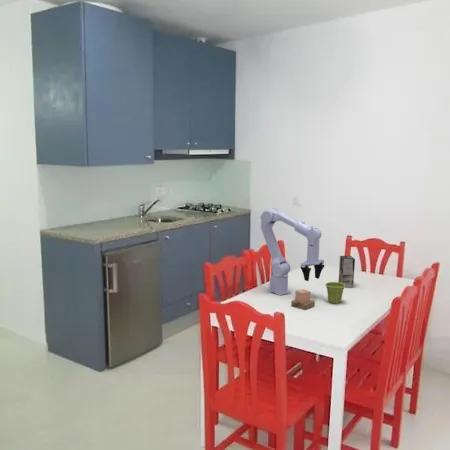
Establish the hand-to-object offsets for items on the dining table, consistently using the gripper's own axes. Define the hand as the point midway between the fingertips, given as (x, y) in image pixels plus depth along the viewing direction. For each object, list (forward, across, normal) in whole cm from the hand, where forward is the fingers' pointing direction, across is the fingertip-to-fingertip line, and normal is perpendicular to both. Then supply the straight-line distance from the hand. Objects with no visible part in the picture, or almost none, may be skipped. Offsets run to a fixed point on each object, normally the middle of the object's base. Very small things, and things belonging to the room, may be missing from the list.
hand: (311, 279), depth 230 cm
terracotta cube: (+7, -12, -6) cm, 16 cm away
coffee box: (+10, +33, +5) cm, 35 cm away
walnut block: (+10, -12, -6) cm, 17 cm away
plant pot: (+10, +6, -10) cm, 15 cm away
